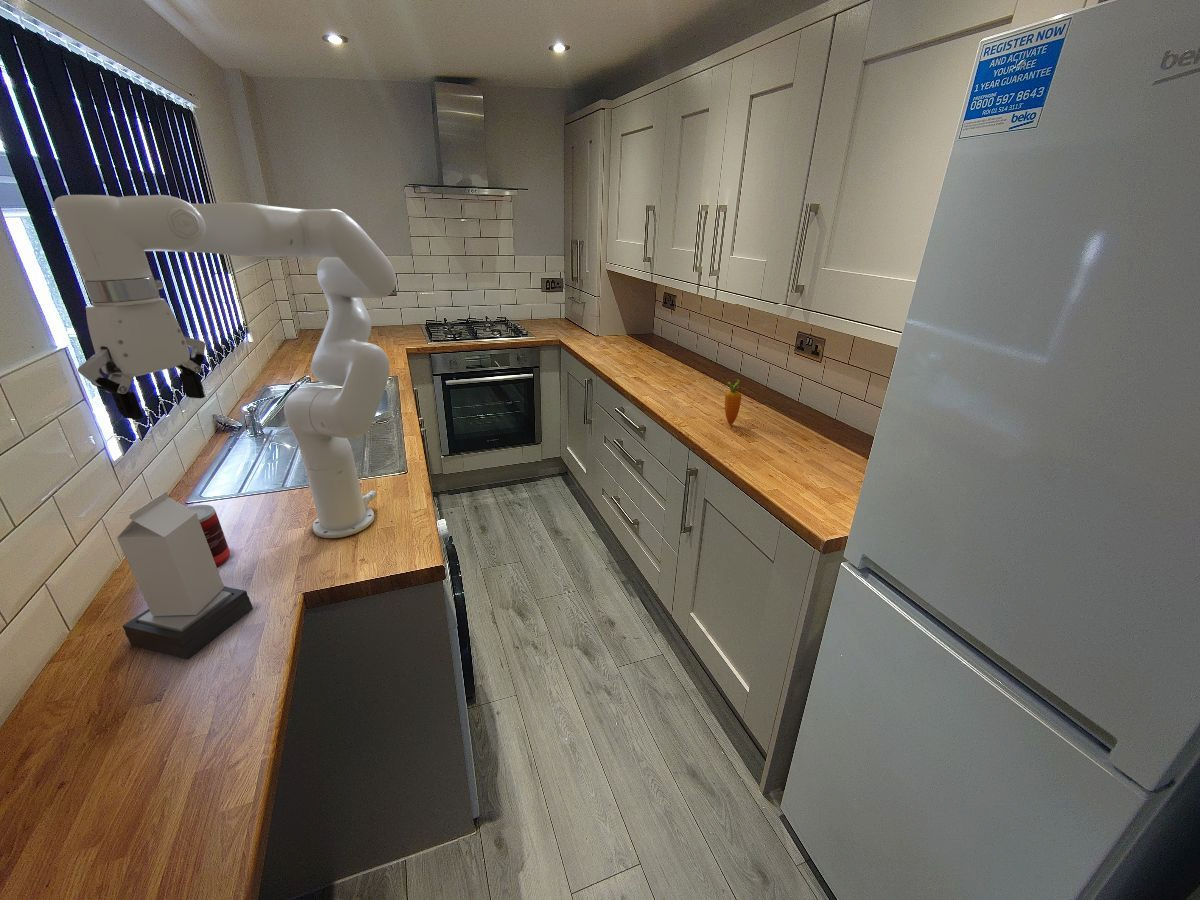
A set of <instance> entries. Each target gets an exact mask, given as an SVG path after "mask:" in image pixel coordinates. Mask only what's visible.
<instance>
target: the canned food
mask: <svg viewBox="0 0 1200 900" xmlns="http://www.w3.org/2000/svg"><path fill="white" fill-rule="evenodd" d="M186 507H187V508H189V509H191V510H192V511H194V512H196V514H197V516H198V519H199V522H200V524H201V527H202V530H203V532H204V535H205V538H206V540H207V543H208V545H209V548H210V551H211V553H212V556H213V559H214V561H215V564H216V567H217V568H218V567H219V566H221V565H223V564H224V563H226V562H227V561H228V560H229V558H230V554H231V550H230V548H229V544H228V542H227V538H226V536H225V533H224V531H223V528H222V525H221V522H220V519H219V516H218V514H217V511H216V509H215V507H214V506H212V505H209V504H198V505H192V506H186Z"/></svg>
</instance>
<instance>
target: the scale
mask: <svg viewBox="0 0 1200 900" xmlns="http://www.w3.org/2000/svg"><path fill="white" fill-rule="evenodd" d="M221 591H225V592H230V593H232V596H231V597H230V598H228V599H227V600H226V601H224V602H223V603H221V604H220V605H219V606H217V607H216V608H215V609H213V610H212V611H210V612H209V613H208V614H206V615H205V616H203V617H202V618H201V619H199V620H198V621H197V622H195V623H194V624H192V625H191V626H190V627H188V628H187V629H185V630H184V631H183V632H181V633H180V632H175V631H171V630H167V629H163V628H159V627H154V626H150V625H146V624H142V623H139V621H138V619H139V618H140V617H142V616H143V615H145V614H146V613H148V612H150V610H149V608H147V609H146V610H144V611H143V612H141V613H140V614H138V615H136V616H135V617H134V618H132V619H130V620H129V621H127V622H126V623H124V624H122V628H123V631H125V632H124V634H125V636H126V639H127V640H128V641H129V644H130V645H131V646H132V647H138V648H140V649H141V648H142V649H145V650H149V651H153V652H157V653H161V654H165V655H170V656H172V657H178V658H181V659H185V660H190V658H192V657H193V656H194V655H196V654H197V653H198V652H199V651H201V650H202V649H203V648H205V647H206V646H207V645H208V644H210V643H211V642H212V641H213V640H215V639H216V638H218V636H220V635H221V634H222V633H224V632H225V631H227V630H228V629H229V628H231V626H233V625H234V624H235V623H237V622H238V621H239V620H240V619H242V618H243V617H245V616H246V615H248V614H249V613H250V612H251V611H252V610H253V608H254V607H253V605H252V603H251V599H250V597H249V595H248V592H247V590H245V589H240V588H239V589H238V588H235V587H230V586H226V585H224V588H223V589H222V590H221Z"/></svg>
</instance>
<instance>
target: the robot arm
mask: <svg viewBox="0 0 1200 900" xmlns="http://www.w3.org/2000/svg"><path fill="white" fill-rule="evenodd" d="M53 208H54V210H55V213H56V217H57V219H58V221H59V224H60V226H61V229H62V231H63V234H64V237H65V240H66V241H67V244H68V246H69V249H70V252H71V254H72V257H73V259H74V261H75V264H76V266H77V269H78V272H79V274H80V276H81V279H82V281H83V284H84V287H85V289H86V292H87V294H88V297H89V300H90V302H91V305H86V306H85V311H86V312H85V313H86V314H85V315H86V323H87V327H88V332H89V336H90V340H91V342H92V346H93V350H94V354H93V355H92V356H90V358H88V359H87V360H86V361H84V362H83V363H82V364H81V365H80V366H78V368H77V372H78V374H80V375H81V376H83V377H84V378H85V379H86V380H87V381H89V382H90V383H91V385H93V386H94V387H96V388H98V389H101V390H104V391H105V392H106V393H109V394H111V396H112V399H113V401H114V403H115V406H116V408H117V411H118V412H119V414H120V415H121V416H122V417H123V418H124V419H132V420H140V419H142V418H143V417H144V415H143V411H142V409H141V406H140V404H139V402H138V399H137V396H136V394H135V392H134V391H129V390H130V387H131V384H132V382H133V380H134V377H140V376H145V375H149V374H152V373H156V372H157V373H158V372H160V371H165V370H168V369H172V368H176V369H177V370H179V371H181V372H180V373H178V374H179V375H178V376H179V379H180V383H181V385H182V388H183V391H184V394H185V396H186V397H187V398H189V399H198V400H199V399H204V398H205V397H206V394H205V392H204V387H203V384H202V381H201V377H200V375H199V374H200V373H201V372H202V365H203V362H204V361H205V356H204V354H205V350H206V343H205V341H203V340H200V339H196V338H192V337H190V336H189V337H188V336H185V335H184V333H183V331H182V328H181V326H180V324H179V322H178V319H177V318H176V316H175V314H174V312H173V311H172V309H171V307H170V305H169V303H168V302H167V301H166V299H165V298H161V295H160V291H159V290H162V289H164V284H163V282H162V280H160V279H155V278H154V276H153V273H152V270H151V267H150V264H149V260H148V257H147V255H146V252H174V253H175V252H176V253H201V254H202V253H203V254H216V255H217V254H218V255H226V256H234V257H264V258H265V257H268V258H270V257H273V258H307V259H309V258H313V259H314V258H322V259H321V260H320V261H319V262H318V264H317V267H316V268H317V269H316V277H317V282H318V284H319V286H320V288H321V290H322V292H323V295H324V297H325V301H326V303H327V306H328V317H327V320H326V324H325V327H324V329H323V331H322V333H321V336H320V338H319V341H318V343H317V346H316V348H315V350H314V353H313V355H312V358H311V359H312V360H311V363H310V370H311V374H312V376H313V377H314V378H315V379H316V380H317V381H319V382H321V383H323V384H325V385H330V386H335V387H342V388H341V389H336V388H330V387H329V388H328V387H321V386H305V387H300V388H298V389H296V390H294V391H292V392H291V393H290V394H289V395H288V396H287V398H286V399H285V402H284V407H283V413H284V418H285V420H286V423H287V425H288V428H289V429H290V431H291V433H292V435H293V437H294V439H295V441H296V444H297V446H298V449H299V453H300V454H301V459H302V463H303V467H304V470H305V474H306V478H307V482H308V486H309V490H310V492H311V497H312V501H313V504H314V507H315V511H316V514H317V518H315V520H314V521H313V523H312V531H313V533H314V534H315V536H317V537H320V538H324V539H339V538H344V537H348V536H352V535H355V534H357V533H360V532H362V531H363V530H365V529H367V528H368V527H369V526H371V524H373V522H374V520H375V513H374V510H373V509H372V508H371V507H369V505H370V502H371V501H372V500H374V499H375V498H377V496H378V494H377V492H376V490H374V489H371V490H370V491H368V492H367V493H365V494H364V493H363V492H362V489H361V484H360V481H359V476H358V470H357V467H356V463H355V458H354V453H353V449H352V446H351V443H350V441H349V440H351V439H357V438H358V439H359V438H361V437H362V436H364V435H365V434H366V433H367V432H368V431H369V430H370V428H371V426H372V424H373V423H374V420H375V417H376V415H377V412H378V410H379V407H380V405H381V402H382V399H383V396H384V393H385V390H386V388H387V385H388V382H389V379H390V370H391V368H390V360H389V357H388V355H387V353H386V352H385V350H384V349H382V347H380V346H378V345H377V344H375V343H371V342H369V339H370V335H371V332H372V320H371V317H370V314H369V312H368V310H367V307H366V306H365V304H364V301H363V299H383V298H386V297H388V296H389V295H391V294H392V293H393V292H394V291H395V288H396V283H397V277H396V272H395V269H394V267H393V264H392V263H391V262H390V260H389V259H388V258H387V256H386V255H385V254H384V253H383V251H382V250H381V249H380V247H378V245H377V244H376V242H374V240H373V239H372V238H371V237H370V236H369V235H368V233H366V231H365V230H364V229H363V228H362V226H360V225H359V223H357V222H356V221H355V219H353V218H352V217H351V216H350V215H348V214H347V213H345V212H344V211H343V210H340V209H336V208H325V209H323V208H320V209H319V208H318V209H305V208H293V207H285V206H284V207H283V206H275V205H267V204H259V203H253V202H252V203H251V202H240V201H239V202H235V201H234V202H232V201H231V202H230V201H229V202H227V201H226V202H212V203H189V202H188V201H186V200H184V199H181V198H180V197H176V196H172V195H167V194H150V195H149V194H148V195H147V194H146V195H145V194H143V195H125V196H114V195H108V194H107V195H106V194H66V195H60V196H58V197H56V199H54V202H53ZM189 348H190V350H189ZM100 369H101V371H102V372H103V373H104V374H105V375H108V378H107V377H104V376H103V374H102V373H101V372H100Z"/></svg>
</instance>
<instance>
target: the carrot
mask: <svg viewBox="0 0 1200 900" xmlns="http://www.w3.org/2000/svg"><path fill="white" fill-rule="evenodd" d="M739 384H740V379H737V380H736V382H735V384H734V385H732V383H731V382H730V381H728V382H727V385H728V388H729V390H728V391H727V392H726V393H725V395H724V413H725V418H726V420H727V423H728V425H729V426H732V425H734V422H735V421H736V419H737V417H738V415H739V413H740V408H741V402H742V393H741V392H739V391H738V390H737V389H738V387H739Z"/></svg>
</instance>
